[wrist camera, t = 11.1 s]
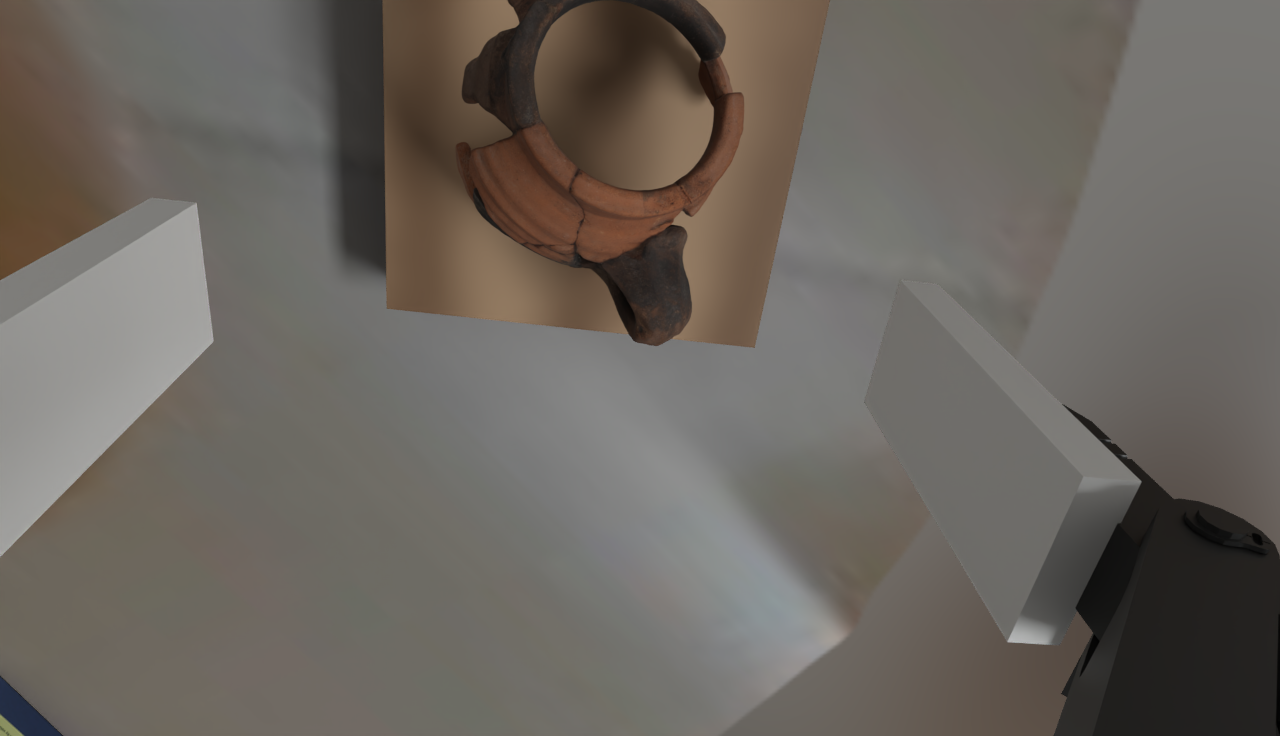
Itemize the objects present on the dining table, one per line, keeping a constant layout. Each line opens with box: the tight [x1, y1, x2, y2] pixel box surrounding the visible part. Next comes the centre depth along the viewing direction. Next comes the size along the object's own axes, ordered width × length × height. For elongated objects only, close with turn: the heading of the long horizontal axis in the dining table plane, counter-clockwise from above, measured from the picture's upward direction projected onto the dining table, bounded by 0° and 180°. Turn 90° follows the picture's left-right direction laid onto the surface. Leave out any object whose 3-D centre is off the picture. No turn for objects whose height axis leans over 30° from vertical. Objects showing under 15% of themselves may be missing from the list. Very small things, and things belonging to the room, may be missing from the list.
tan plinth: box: [383, 0, 830, 348], centre depth 31 cm, size 15×15×3 cm
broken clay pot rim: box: [455, 0, 744, 346], centre depth 27 cm, size 12×10×8 cm
